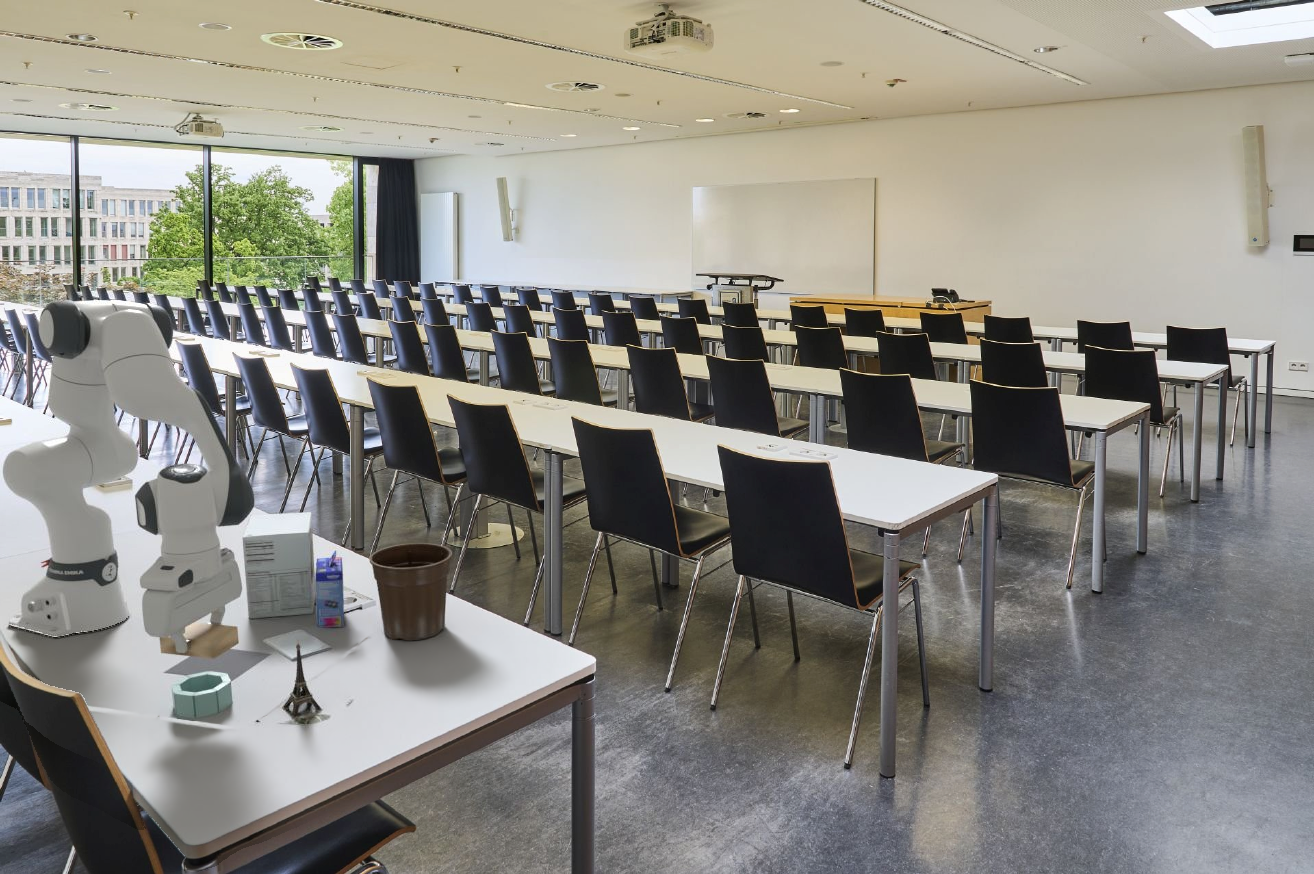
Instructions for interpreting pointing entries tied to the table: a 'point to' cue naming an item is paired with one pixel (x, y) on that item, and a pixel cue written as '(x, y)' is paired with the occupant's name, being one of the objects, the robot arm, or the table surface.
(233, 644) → the lid
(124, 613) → the robot arm
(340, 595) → the ink cartridge box
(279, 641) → the hard drive
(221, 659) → the mat
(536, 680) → the table surface
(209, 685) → the bowl
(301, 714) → the eiffel tower figurine
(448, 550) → the plant pot
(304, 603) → the supplement box
